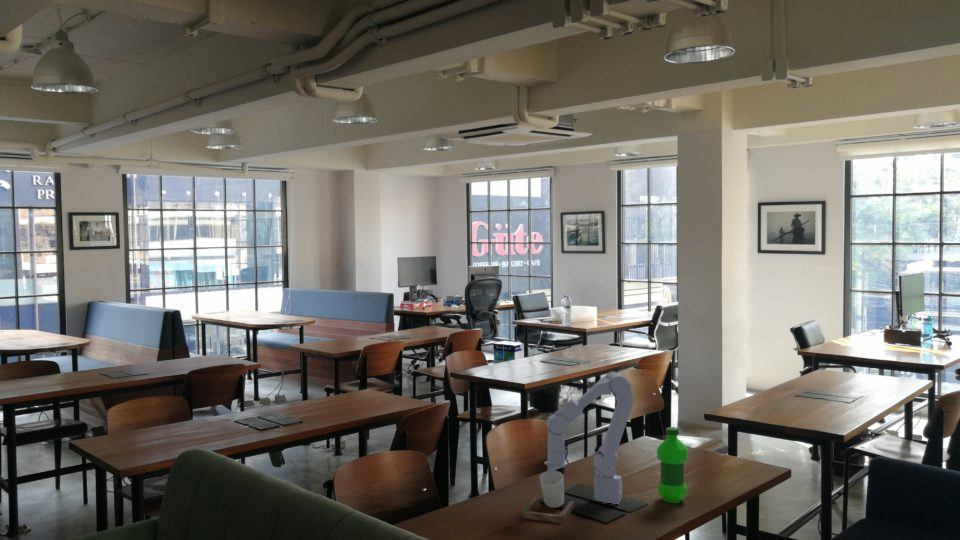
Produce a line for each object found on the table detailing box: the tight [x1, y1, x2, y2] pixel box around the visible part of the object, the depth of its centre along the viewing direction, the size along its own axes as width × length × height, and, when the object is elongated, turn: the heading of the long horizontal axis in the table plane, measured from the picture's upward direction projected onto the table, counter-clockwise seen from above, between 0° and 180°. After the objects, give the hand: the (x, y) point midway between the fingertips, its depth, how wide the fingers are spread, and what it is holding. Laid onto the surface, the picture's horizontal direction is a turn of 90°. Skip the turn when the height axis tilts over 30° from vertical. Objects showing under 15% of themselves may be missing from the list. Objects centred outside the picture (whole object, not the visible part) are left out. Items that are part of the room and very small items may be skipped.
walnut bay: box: [521, 496, 576, 524], centre depth 257 cm, size 14×16×2 cm
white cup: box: [539, 470, 565, 509], centre depth 262 cm, size 8×8×10 cm
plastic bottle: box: [656, 426, 689, 504], centre depth 266 cm, size 10×10×25 cm
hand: (556, 489), depth 267 cm, fingers closed, pressing on white cup
